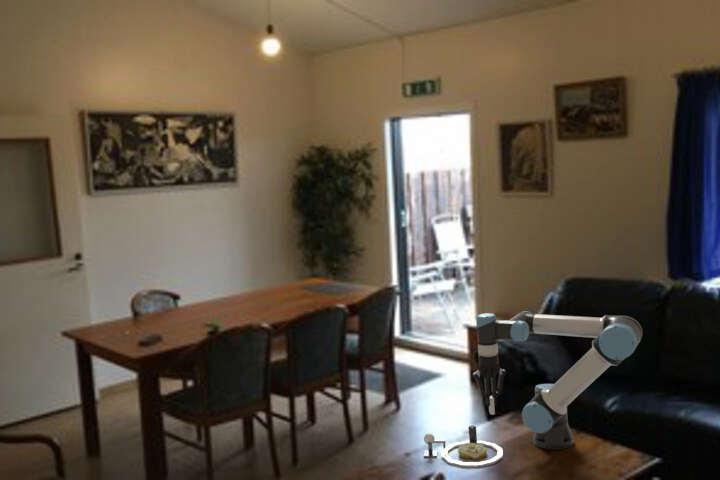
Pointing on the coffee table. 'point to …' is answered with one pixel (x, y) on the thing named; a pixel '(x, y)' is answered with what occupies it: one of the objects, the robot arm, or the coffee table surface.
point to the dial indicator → (430, 440)
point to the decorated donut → (472, 451)
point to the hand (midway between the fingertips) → (492, 413)
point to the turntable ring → (472, 440)
